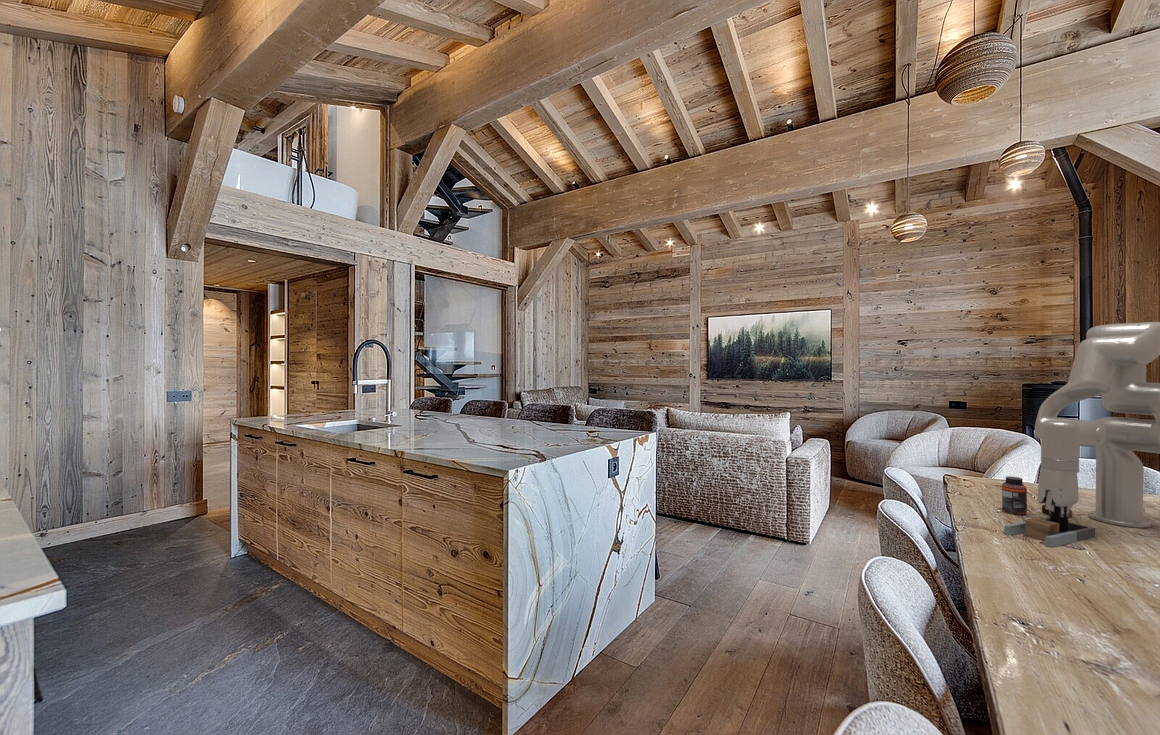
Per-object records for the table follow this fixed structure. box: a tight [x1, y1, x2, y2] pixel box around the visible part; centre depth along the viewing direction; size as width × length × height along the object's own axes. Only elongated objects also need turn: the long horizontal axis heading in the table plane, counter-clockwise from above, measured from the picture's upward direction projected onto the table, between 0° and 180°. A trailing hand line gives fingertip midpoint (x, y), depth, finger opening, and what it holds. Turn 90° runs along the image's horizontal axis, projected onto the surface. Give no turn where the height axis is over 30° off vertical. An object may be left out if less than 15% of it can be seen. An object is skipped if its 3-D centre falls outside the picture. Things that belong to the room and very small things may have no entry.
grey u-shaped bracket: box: [1004, 516, 1097, 549], centre depth 130 cm, size 21×10×2 cm, turn 110°
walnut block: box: [1024, 517, 1059, 542], centre depth 129 cm, size 5×5×4 cm
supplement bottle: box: [1001, 475, 1028, 516], centre depth 150 cm, size 6×6×11 cm
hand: (1058, 529), depth 131 cm, fingers closed
